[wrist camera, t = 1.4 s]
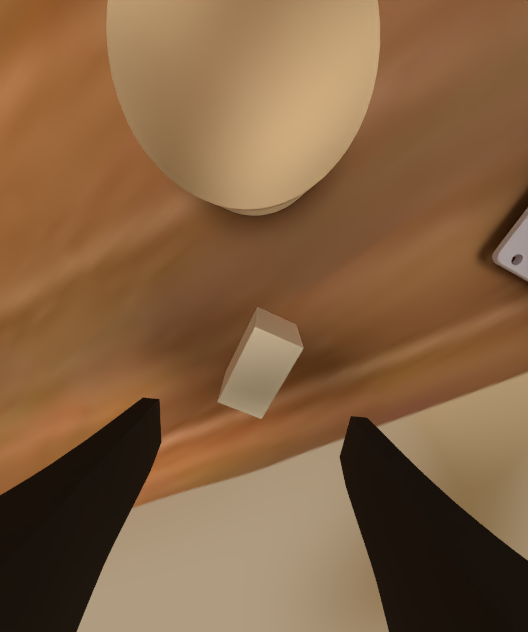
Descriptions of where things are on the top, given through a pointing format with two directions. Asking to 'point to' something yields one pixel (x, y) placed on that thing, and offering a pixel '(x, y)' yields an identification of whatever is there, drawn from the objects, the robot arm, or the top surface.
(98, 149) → the top surface
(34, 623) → the robot arm
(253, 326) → the rectangular block
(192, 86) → the bobbin
